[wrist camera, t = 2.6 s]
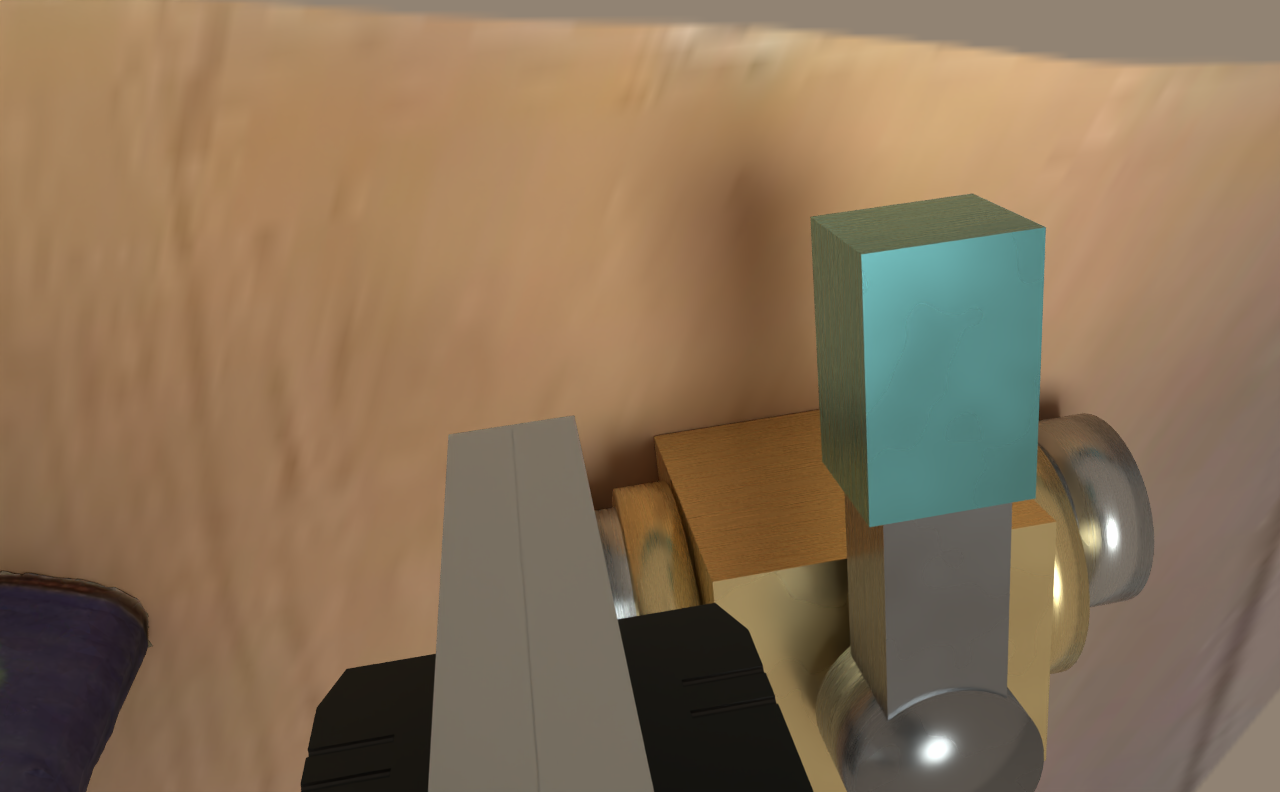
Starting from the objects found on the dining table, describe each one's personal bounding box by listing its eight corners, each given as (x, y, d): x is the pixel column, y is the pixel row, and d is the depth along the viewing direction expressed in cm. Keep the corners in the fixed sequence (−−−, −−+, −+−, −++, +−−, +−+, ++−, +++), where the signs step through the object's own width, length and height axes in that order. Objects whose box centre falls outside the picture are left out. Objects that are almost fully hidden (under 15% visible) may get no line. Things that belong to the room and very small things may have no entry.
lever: (984, 749, 23) (1043, 837, 21) (818, 781, 23) (858, 875, 20) (995, 190, 18) (1071, 223, 16) (787, 220, 18) (834, 258, 16)
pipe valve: (532, 652, 30) (555, 872, 23) (498, 454, 27) (511, 628, 20) (1048, 560, 31) (1222, 739, 24) (1056, 364, 29) (1252, 498, 22)
